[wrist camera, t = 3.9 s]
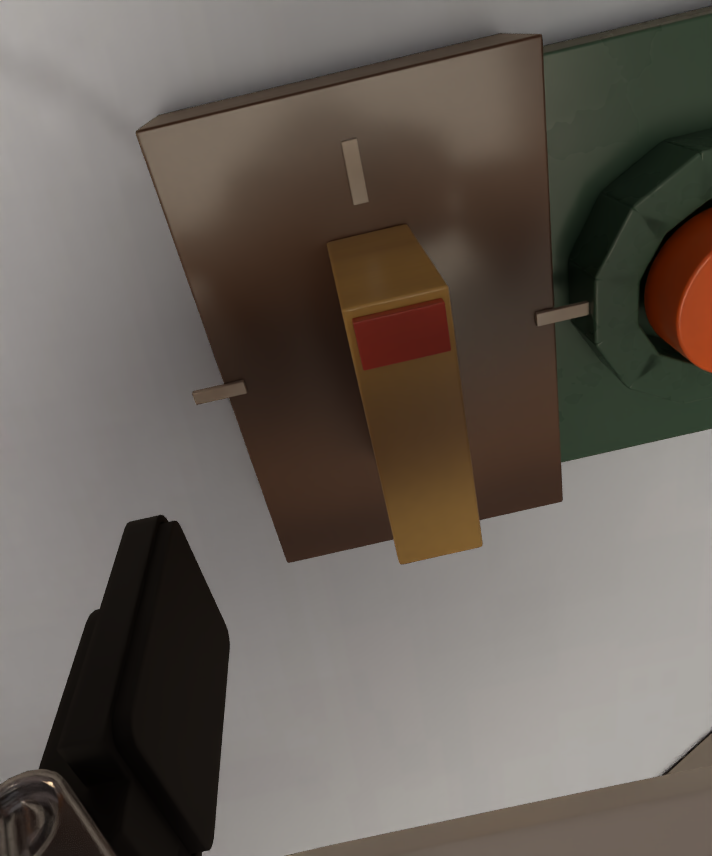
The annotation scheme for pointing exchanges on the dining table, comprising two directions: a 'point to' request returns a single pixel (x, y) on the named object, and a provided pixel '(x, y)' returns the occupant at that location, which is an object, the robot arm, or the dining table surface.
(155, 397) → the dining table surface
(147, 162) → the control panel
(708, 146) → the button housing
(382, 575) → the dining table surface
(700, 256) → the button
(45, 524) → the dining table surface
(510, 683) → the dining table surface
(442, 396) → the yellow box red tab
